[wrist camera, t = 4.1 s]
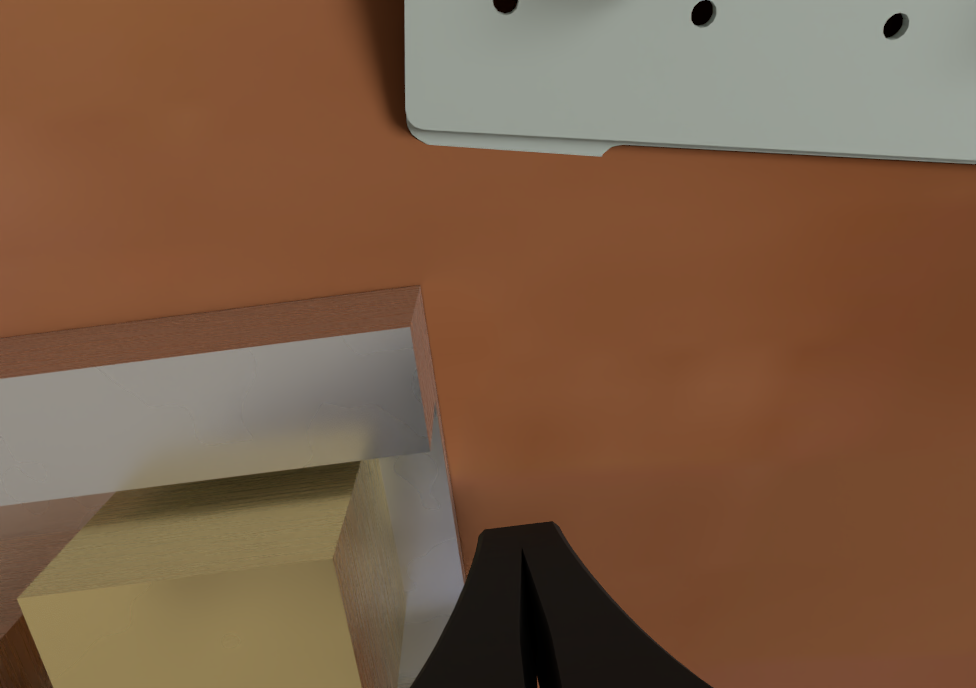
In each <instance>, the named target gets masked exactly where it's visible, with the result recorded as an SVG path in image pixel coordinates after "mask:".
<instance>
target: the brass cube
mask: <svg viewBox="0 0 976 688" xmlns="http://www.w3.org/2000/svg"><path fill="white" fill-rule="evenodd" d="M17 601H18V603H19V605H20V608H21V610H22V613H23V615H24V618H25V620H26V623H27V625H28V627H29V630H30V632H31V635H32V637H33V640H34V642H35V644H36V647H37V649H38V652H39V654H40V657H41V659H42V661H43V664H44V666H45V669H46V671H47V674H48V676H49V678H50V681H51V683H52V686H53V688H397V686H398V677H399V668H400V659H401V649H402V640H403V631H404V622H405V613H406V599H405V594H404V589H403V583H402V578H401V573H400V568H399V563H398V557H397V552H396V547H395V542H394V536H393V531H392V526H391V521H390V516H389V510H388V505H387V500H386V495H385V489H384V484H383V479H382V474H381V469H380V463H379V458H376V459H369V460H361V461H353V462H345V463H337V464H329V465H321V466H313V467H305V468H298V469H290V470H282V471H274V472H266V473H258V474H250V475H242V476H234V477H227V478H219V479H211V480H203V481H195V482H187V483H179V484H171V485H163V486H156V487H148V488H140V489H132V490H124V491H116V492H115V494H114V495H113V496H112V497H111V498H110V499H109V500H108V501H107V502H106V503H105V504H104V505H103V506H102V507H101V509H100V510H99V511H98V512H97V513H96V514H95V515H94V516H93V517H92V518H91V519H90V520H89V521H88V523H87V524H86V525H85V526H84V527H83V528H82V529H81V530H80V531H79V532H78V533H77V534H76V535H75V537H74V538H73V539H72V540H71V541H70V542H69V543H68V544H67V545H66V546H65V547H64V548H63V549H62V551H61V552H60V553H59V554H58V555H57V556H56V557H55V558H54V559H53V560H52V561H51V562H50V563H49V565H48V566H47V567H46V568H45V569H44V570H43V571H42V572H41V573H40V574H39V575H38V576H37V577H36V578H35V580H34V581H33V582H32V583H31V584H30V585H29V586H28V587H27V588H26V589H25V590H24V591H23V592H22V594H21V595H20V596H19V597H18V598H17Z"/></svg>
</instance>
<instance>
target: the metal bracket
mask: <svg viewBox="0 0 976 688" xmlns="http://www.w3.org/2000/svg"><path fill="white" fill-rule="evenodd" d="M700 1H703V0H518V2H517V5H516V7H515V8H514V9H513V10H512V11H511V12H508V13H502V12H499V11H497V9H496V8H495V7H494V5H493V0H404V5H405V111H406V120H407V125H408V128H409V130H410V132H411V133H412V135H414V136H415V137H416V138H417V139H419V140H421V141H422V142H424V143H426V144H428V145H441V146H456V147H470V148H485V149H499V150H514V151H528V152H543V153H557V154H572V155H586V156H601V157H602V154H603V153H605V152H606V151H607V150H608V149H609V148H611V147H613V146H618V145H638V146H656V147H674V148H692V149H710V150H728V151H746V152H765V153H783V154H801V155H819V156H837V157H855V158H873V159H891V160H909V161H928V162H946V163H964V164H976V0H709V1H710V2H711V3H712V5H713V14H712V16H711V18H710V20H709V21H708V22H706V23H705V24H704V25H699V26H696V25H694V24H693V22H692V21H691V12H692V10H693V8H694V6H695V5H696V4H697V3H699V2H700ZM897 13H901V15H902V17H903V24H902V27H901V28H900V30H899V31H898V32H897V33H896V34H895V35H893V36H892V37H888V38H885V36H884V34H883V28H884V25H885V23H886V21H887V20H888V19H889V18H890V17H891V16H893V15H894V14H897Z"/></svg>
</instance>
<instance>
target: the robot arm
mask: <svg viewBox="0 0 976 688" xmlns="http://www.w3.org/2000/svg"><path fill="white" fill-rule="evenodd" d="M537 678H538V682H539V686H540V688H713V687H711V686H710V685H709V684H707V683H706V682H704V681H703V680H701V679H700V678H699V677H697V676H696V675H695V674H694V673H692V672H691V671H690V670H689V669H687V668H686V667H685V666H684V665H682V664H681V663H680V662H678V661H677V660H676V659H675V658H674V657H672V656H671V655H670V654H669V653H668V652H667V651H665V650H664V649H663V648H662V647H661V646H660V645H658V644H657V643H656V642H655V641H654V640H653V639H652V638H651V637H650V636H649V635H648V634H646V633H645V632H644V631H643V630H642V629H641V628H640V627H639V626H638V625H637V624H636V623H635V622H634V621H633V620H632V619H631V618H630V617H629V616H628V615H627V614H626V613H625V612H624V611H623V610H622V609H621V608H620V606H619V605H618V604H617V603H616V602H615V601H614V600H613V599H612V598H611V597H610V595H609V594H608V593H607V592H606V591H605V590H604V588H603V587H602V586H601V585H600V584H599V583H598V581H597V580H596V579H595V578H594V577H593V575H592V574H591V573H590V572H589V570H588V569H587V568H586V567H585V565H584V564H583V563H582V561H581V560H580V559H579V557H578V556H577V555H576V553H575V552H574V550H573V549H572V547H571V546H570V544H569V543H568V541H567V540H566V538H565V537H564V535H563V533H562V531H561V530H560V527H559V526H558V525H556V524H555V523H554V522H553V521H551V522H543V523H534V524H526V525H518V526H510V527H502V528H494V529H486V530H484V531H483V532H482V533H481V534H480V535H479V538H478V544H477V548H476V552H475V556H474V559H473V562H472V565H471V568H470V571H469V574H468V576H467V579H466V582H465V584H464V586H463V589H462V591H461V593H460V596H459V598H458V601H457V603H456V605H455V608H454V610H453V612H452V614H451V616H450V618H449V620H448V622H447V624H446V626H445V628H444V630H443V632H442V634H441V636H440V638H439V640H438V641H437V643H436V645H435V647H434V649H433V651H432V652H431V654H430V656H429V658H428V659H427V661H426V663H425V664H424V666H423V668H422V669H421V671H420V672H419V674H418V675H417V677H416V679H415V680H414V682H413V683H412V685H411V686H410V688H537Z"/></svg>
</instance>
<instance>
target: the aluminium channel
mask: <svg viewBox="0 0 976 688" xmlns="http://www.w3.org/2000/svg"><path fill="white" fill-rule="evenodd" d="M376 458H379V463H380V469H381V474H382V479H383V484H384V489H385V495H386V500H387V505H388V510H389V516H390V521H391V526H392V531H393V536H394V542H395V547H396V552H397V557H398V563H399V568H400V573H401V578H402V583H403V589H404V594H405V599H406V613H405V622H404V631H403V640H402V649H401V659H400V668H399V677H398V686H397V688H410V686H411V685H412V683H413V682H414V680H415V679H416V677H417V675H418V674H419V672H420V671H421V669H422V668H423V666H424V664H425V663H426V661H427V659H428V658H429V656H430V654H431V652H432V651H433V649H434V647H435V645H436V643H437V641H438V640H439V638H440V636H441V634H442V632H443V630H444V628H445V626H446V624H447V622H448V620H449V618H450V616H451V614H452V612H453V610H454V608H455V605H456V603H457V601H458V598H459V596H460V593H461V591H462V589H463V586H464V584H465V582H466V577H465V570H464V564H463V557H462V551H461V544H460V538H459V532H458V525H457V519H456V512H455V506H454V500H453V493H452V487H451V480H450V474H449V467H448V461H447V455H446V448H445V442H444V435H443V429H442V422H441V416H440V410H439V403H438V397H437V390H436V384H435V378H434V371H433V365H432V358H431V352H430V345H429V339H428V333H427V326H426V320H425V313H424V307H423V301H422V294H421V288H420V285H418V286H410V287H403V288H395V289H387V290H379V291H371V292H363V293H355V294H347V295H339V296H331V297H324V298H316V299H308V300H300V301H292V302H284V303H276V304H268V305H260V306H253V307H245V308H237V309H229V310H221V311H213V312H205V313H197V314H189V315H182V316H174V317H166V318H158V319H150V320H142V321H134V322H126V323H118V324H111V325H103V326H95V327H87V328H79V329H71V330H63V331H55V332H47V333H40V334H32V335H24V336H16V337H8V338H0V540H2V539H10V538H18V537H26V536H33V535H41V534H49V533H57V532H65V531H73V530H81V529H82V528H83V527H84V526H85V525H86V524H87V523H88V521H89V520H90V519H91V518H92V517H93V516H94V515H95V514H96V513H97V512H98V511H99V510H100V509H101V507H102V506H103V505H104V504H105V503H106V502H107V501H108V500H109V499H110V498H111V497H112V496H113V495H114V494H115V492H116V491H124V490H132V489H140V488H148V487H156V486H163V485H171V484H179V483H187V482H195V481H203V480H211V479H219V478H227V477H234V476H242V475H250V474H258V473H266V472H274V471H282V470H290V469H298V468H305V467H313V466H321V465H329V464H337V463H345V462H353V461H361V460H369V459H376Z"/></svg>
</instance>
